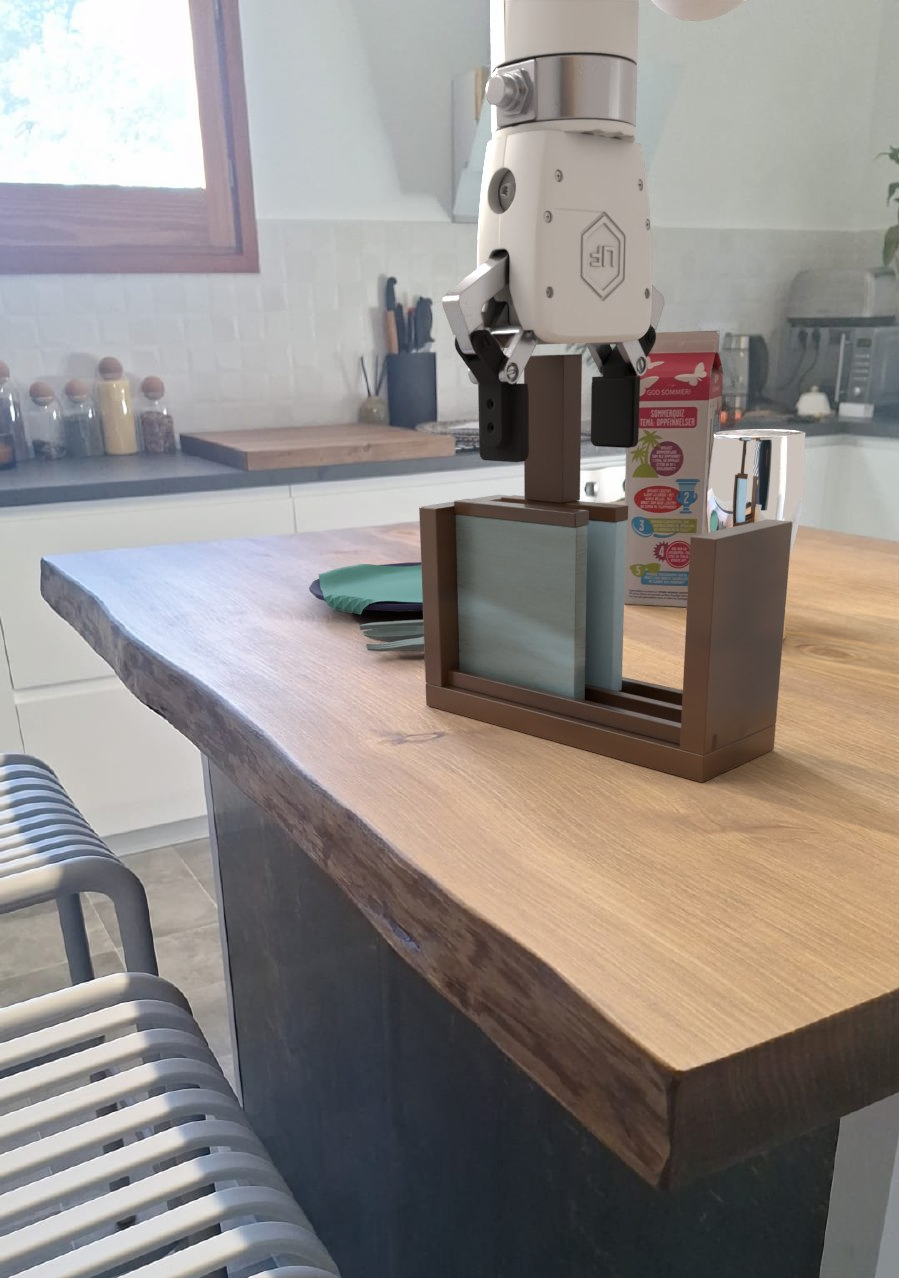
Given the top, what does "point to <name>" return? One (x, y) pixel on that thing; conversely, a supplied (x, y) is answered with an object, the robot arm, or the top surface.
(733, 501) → the beer glass
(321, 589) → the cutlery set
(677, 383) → the juice carton
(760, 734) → the window frame
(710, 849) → the top surface
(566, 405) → the sash
